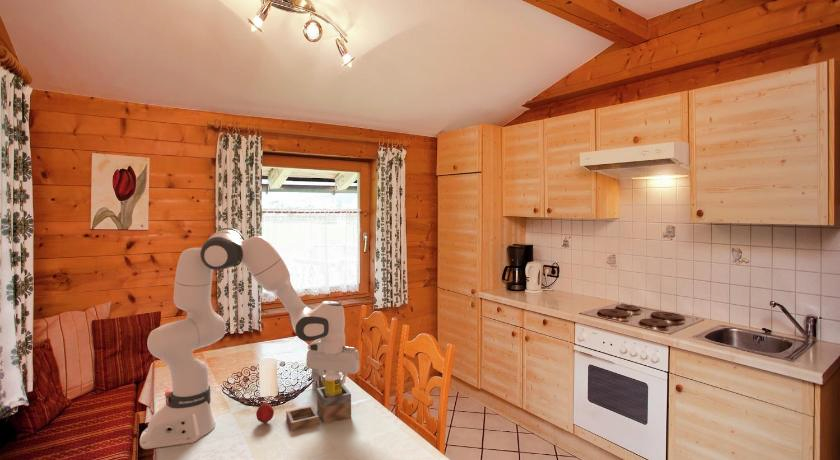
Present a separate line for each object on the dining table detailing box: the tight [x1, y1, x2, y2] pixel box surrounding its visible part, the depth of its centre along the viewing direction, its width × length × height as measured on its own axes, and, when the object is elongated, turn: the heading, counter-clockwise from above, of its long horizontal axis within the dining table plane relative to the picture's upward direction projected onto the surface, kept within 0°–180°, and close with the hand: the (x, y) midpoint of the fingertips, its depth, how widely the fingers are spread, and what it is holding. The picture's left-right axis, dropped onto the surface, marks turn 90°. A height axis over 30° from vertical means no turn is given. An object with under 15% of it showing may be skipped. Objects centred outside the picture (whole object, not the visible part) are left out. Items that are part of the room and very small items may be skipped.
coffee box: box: [311, 368, 327, 391], centre depth 187 cm, size 9×6×16 cm
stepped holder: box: [285, 383, 352, 432], centre depth 161 cm, size 21×10×9 cm, turn 117°
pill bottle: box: [325, 370, 343, 398], centre depth 163 cm, size 6×6×11 cm
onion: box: [255, 401, 275, 424], centre depth 157 cm, size 6×6×8 cm
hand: (333, 381), depth 163 cm, fingers closed on pill bottle, 6 cm apart
